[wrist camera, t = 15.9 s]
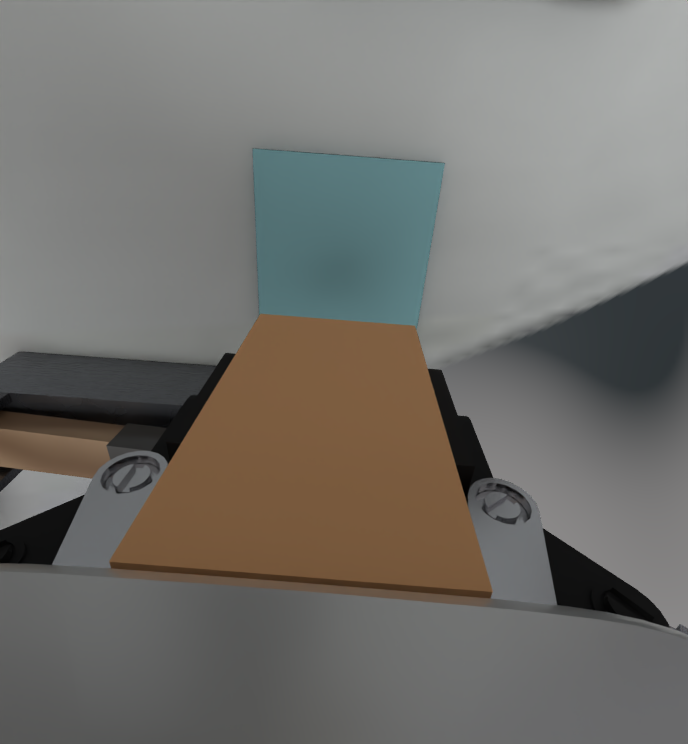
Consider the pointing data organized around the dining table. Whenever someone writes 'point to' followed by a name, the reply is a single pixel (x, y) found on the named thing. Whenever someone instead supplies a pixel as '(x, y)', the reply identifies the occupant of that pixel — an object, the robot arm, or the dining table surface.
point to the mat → (343, 235)
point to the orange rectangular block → (316, 470)
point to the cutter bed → (96, 390)
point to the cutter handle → (68, 443)
